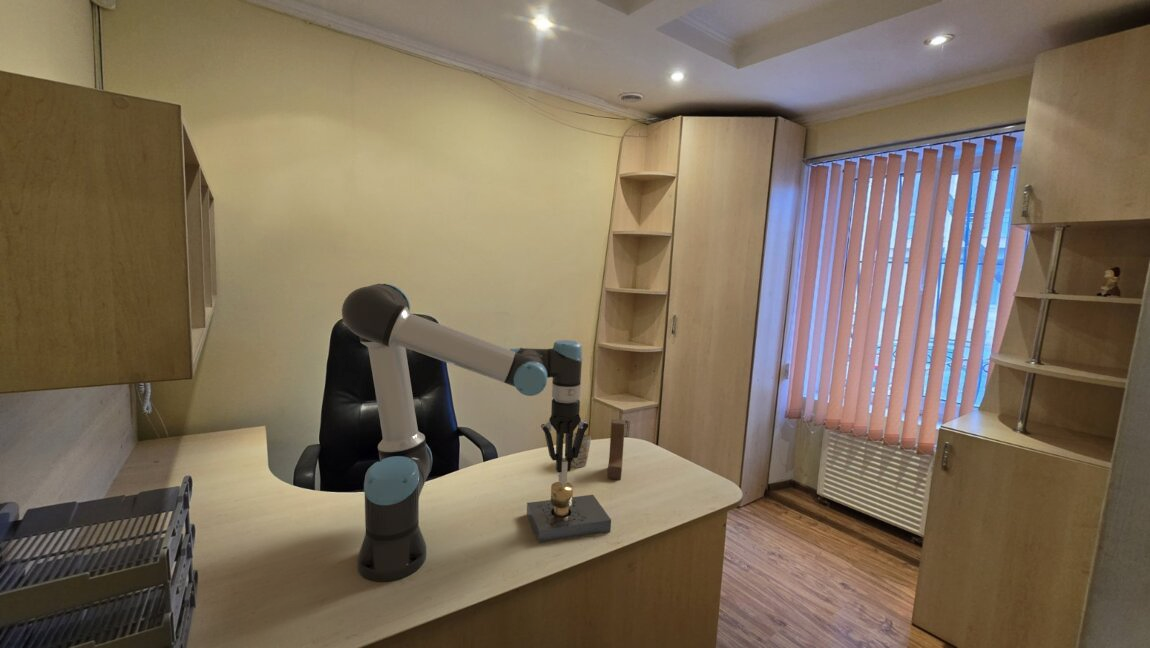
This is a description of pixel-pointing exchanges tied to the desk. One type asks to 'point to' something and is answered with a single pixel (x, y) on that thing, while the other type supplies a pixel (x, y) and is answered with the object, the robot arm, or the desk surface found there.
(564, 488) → the knob
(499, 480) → the desk surface
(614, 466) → the wooden block
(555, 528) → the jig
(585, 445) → the mug
